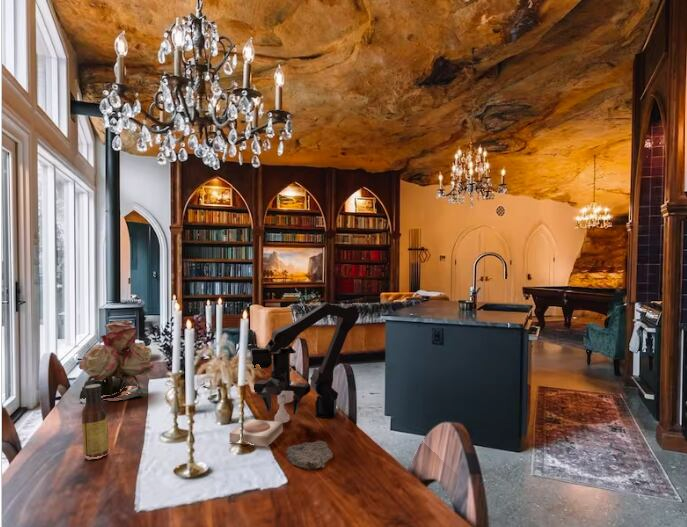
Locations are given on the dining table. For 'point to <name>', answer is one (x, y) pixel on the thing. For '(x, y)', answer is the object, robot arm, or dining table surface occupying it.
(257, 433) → the plinth
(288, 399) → the shot glass
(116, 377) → the rose bouquet
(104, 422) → the sauce bottle
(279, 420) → the chess pawn
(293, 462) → the stone slab
